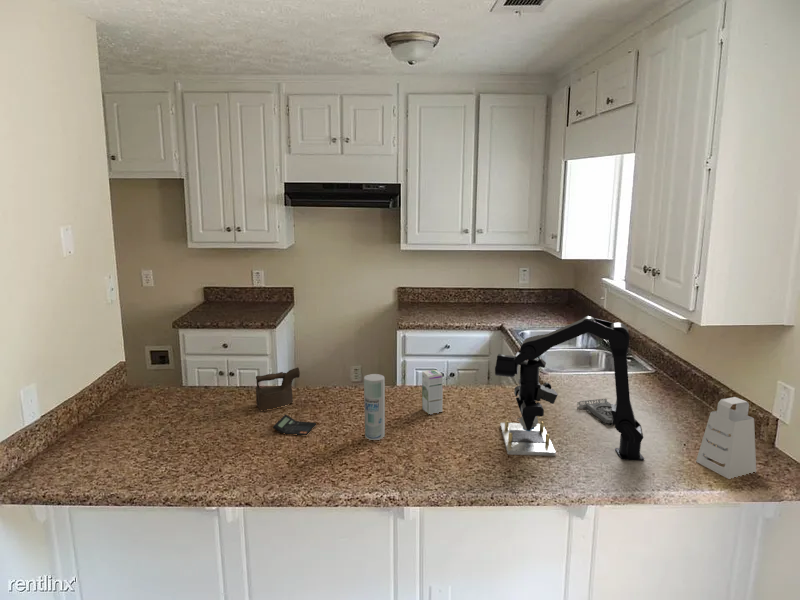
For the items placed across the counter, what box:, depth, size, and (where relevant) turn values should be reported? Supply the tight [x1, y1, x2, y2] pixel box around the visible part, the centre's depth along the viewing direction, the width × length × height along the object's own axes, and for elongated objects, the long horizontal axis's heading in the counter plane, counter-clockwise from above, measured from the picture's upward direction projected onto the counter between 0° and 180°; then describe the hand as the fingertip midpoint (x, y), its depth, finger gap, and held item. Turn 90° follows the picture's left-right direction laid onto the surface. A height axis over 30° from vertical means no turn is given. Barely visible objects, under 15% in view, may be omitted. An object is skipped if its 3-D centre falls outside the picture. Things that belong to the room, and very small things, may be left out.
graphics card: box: [576, 398, 612, 424], centre depth 187 cm, size 17×4×12 cm
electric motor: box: [516, 416, 539, 431], centre depth 167 cm, size 7×5×5 cm
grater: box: [695, 396, 757, 480], centre depth 150 cm, size 10×10×20 cm
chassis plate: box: [499, 419, 556, 457], centre depth 169 cm, size 20×14×4 cm
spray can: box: [363, 373, 386, 441], centre depth 169 cm, size 6×6×20 cm
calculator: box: [272, 414, 317, 435], centre depth 177 cm, size 9×12×3 cm
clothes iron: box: [255, 366, 301, 411], centre depth 196 cm, size 8×16×13 cm, turn 113°
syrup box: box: [421, 369, 443, 415], centre depth 190 cm, size 6×6×14 cm
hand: (527, 425), depth 168 cm, fingers closed on electric motor, 5 cm apart
